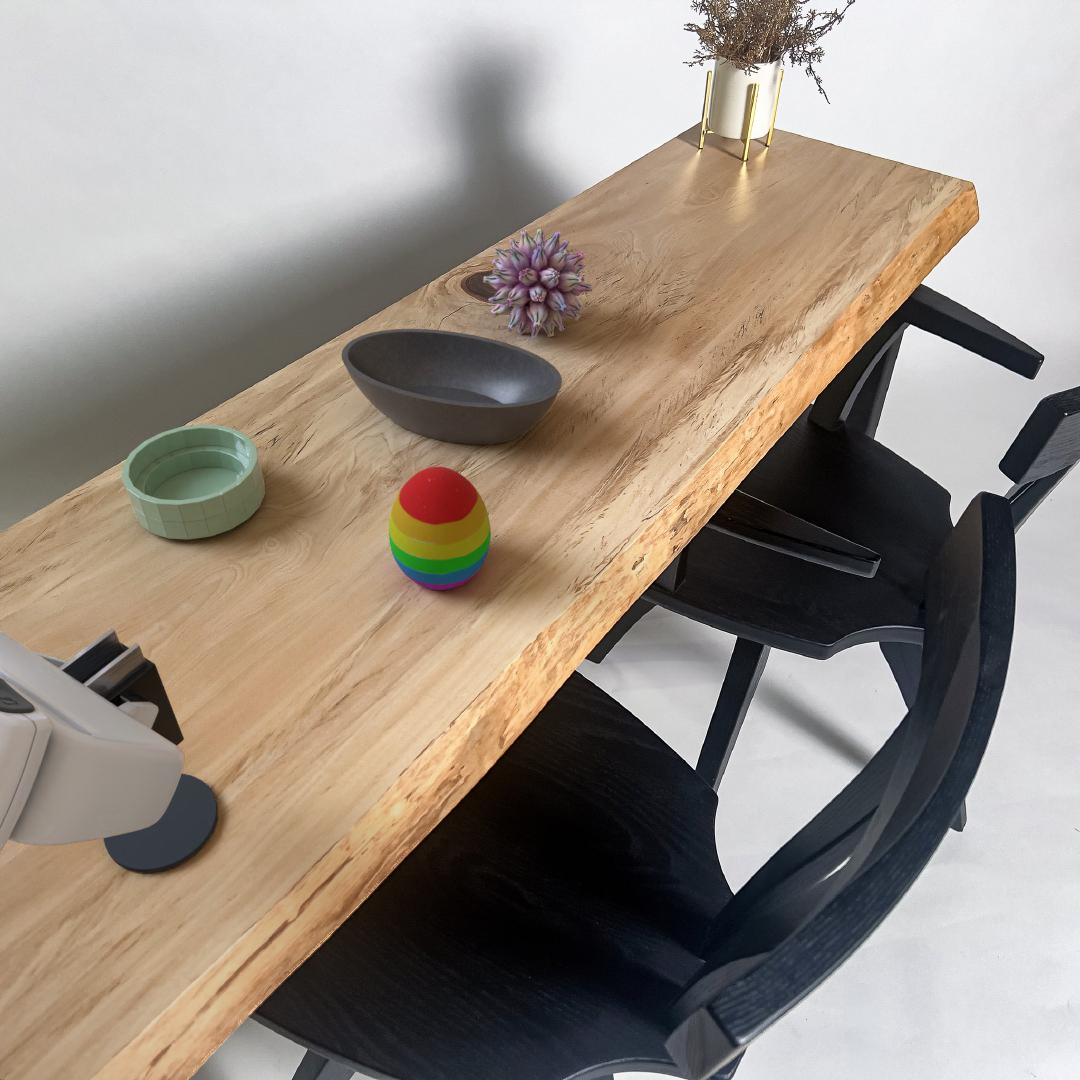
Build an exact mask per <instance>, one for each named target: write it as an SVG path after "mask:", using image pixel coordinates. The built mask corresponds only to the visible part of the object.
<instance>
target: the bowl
mask: <svg viewBox="0 0 1080 1080" xmlns="http://www.w3.org/2000/svg"><path fill="white" fill-rule="evenodd" d="M341 360H342V363H343V365H344V367H345V369H346V371H347V373H348V374H349V376H350V378H351V380H352V381H353V383H354V384H355V386H356V387H357V388H358V389H359V390H360V392H361V394H363V396H364V397H365V398H366V400H368V402H369V403H371V404H372V406H373V407H375V408H376V409H377V410H378V411H379V412H380V413H381V414H383V415H384V416H385V417H387V418H388V419H389V420H390V421H392V422H393V423H394V424H396V425H397V426H398V427H401V428H403V429H405V430H407V431H409V432H411V433H414V434H417V435H420V436H422V437H425V438H430V439H434V440H438V441H443V442H446V443H447V442H448V443H455V444H462V445H472V446H473V445H476V446H486V445H497V444H498V445H499V444H503V443H508V442H511V441H513V440H515V439H517V438H519V437H520V436H522V435H524V434H525V433H526V432H528V431H530V430H531V429H532V428H533V427H535V425H537V424H538V423H539V422H540V421H541V420H542V419H543V418H544V416H545V415H546V414H547V413H548V412H549V410H550V408H552V406H553V404H554V403H555V401H556V399H557V397H558V395H559V392H560V390H561V388H562V385H563V378H562V374H561V373H560V371H559V370H558V369H557V367H556V366H554V365H553V364H552V363H551V362H549V361H548V360H547V359H545V358H543V357H542V356H540V355H538V354H536V353H534V352H532V351H530V350H527V349H524V348H522V347H519V346H516V345H513V344H510V343H508V342H503V341H500V340H496V339H492V338H489V337H485V336H484V337H483V336H480V335H475V334H469V333H463V332H457V331H450V330H442V329H441V330H440V329H430V328H429V329H427V328H395V329H384V330H379V331H373V332H369V333H366V334H362V335H360V336H358V337H355V338H354V339H352V340H350V341H349V342H348V343H347V344H346V345H345V346H344V347H343V349H342V351H341Z"/></svg>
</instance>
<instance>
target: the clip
mask: <svg viewBox="0 0 1080 1080" xmlns="http://www.w3.org/2000/svg"><path fill="white" fill-rule="evenodd" d="M66 661H67V662H66V663H64V664H63V665H62V666H60V667H59V669H60V670H62V671H64V672H65V673H67V674H68V675H70V676H71V677H73V678H74V679H76V680H77V681H79V682H80V683H82V684H83V685H85V686H86V687H88V688H89V689H91V690H92V691H94V692H95V693H97V694H99V695H100V696H102V697H103V698H105V699H106V700H108V701H109V702H111V703H112V704H114V705H116V702H117V700H118V698H119V695H132V696H133V695H140V696H142V697H143V698H145V699H147V700H148V701H150V702H151V703H153V704H154V705H156V706H158V709H159V710H158V714H157V716H156V718H155V721H154V723H153V726H152V728H151V729H152V730H153V731H155V732H156V733H158V734H159V735H161V736H162V737H164V738H165V739H167V740H169V741H170V742H172V743H173V744H175V745H177V746H179V745H180V744H181V743H182V742H183V741H184V740H185V737H184V735H183V732H182V730H181V728H180V724H179V721H178V720H177V716H176V715H175V712H174V709H173V706H172V704H171V701H170V699H169V696H168V693H167V691H166V689H165V685H164V683H163V680H162V678H161V676H160V673H159V670H158V668H157V665H156V663H155V662H153V661H152V660H150V659H148V658H147V657H145V656H144V652H143V651H142V648H141V646H140V644H138V643H137V642H136V643H134V644H132V645H131V646H129V647H128V646H127V645H126V644H124V643H122V642H121V641H120V639H119V636H118V634H117V632H116V629H114V628H109V629H108V630H107V631H106V632H104V633H103V634H102V635H100V636H99V637H98V638H96V639H95V640H94V641H92V642H91V643H89V645H87V646H86V647H85V648H83V649H82V650H80V651H79V652H77V653H76V654H75V655H74V656H73V657H70V659H68V660H66Z"/></svg>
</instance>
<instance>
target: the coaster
mask: <svg viewBox="0 0 1080 1080" xmlns="http://www.w3.org/2000/svg"><path fill="white" fill-rule="evenodd" d="M218 818H219V806H218V801H217V798H216V796H215V794H214V792H213V790H212V789H211V787H210V786H209V785H208V784H207V783H206V782H205V781H203V780H202V779H200V778H198V777H197V776H193V775H191V774H187V773H182V774H181V777H180V780H179V782H178V785H177V788H176V790H175V793H174V795H173V797H172V799H171V801H170V803H169V806H168V807H167V809H166V811H165V813H164V814H163V816H162V817H161V818H160V819H159V820H158V821H157V822H156V823H155V824H153V825H151V826H149V827H147V828H144V829H141V830H137V831H133V832H129V833H125V834H121V835H116V836H111V837H107V838H103V844H104V847H105V849H106V851H107V853H108V855H109V857H110V858H111V859H112V860H113V862H114V863H116V864H117V865H118V866H120V867H121V868H123V869H125V870H127V871H130V872H134V873H139V874H153V873H154V874H155V873H161V872H165V871H169V870H171V869H174V868H176V867H178V866H181V865H182V864H185V863H186V862H188V861H189V860H190V859H192V858H193V857H194V856H196V855H197V854H198V853H199V852H200V851H201V850H202V849H203V848H204V847H205V846H206V845H207V844H208V842H209V840H210V839H211V838H212V835H213V833H214V832H215V830H216V827H217V823H218Z"/></svg>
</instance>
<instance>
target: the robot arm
mask: <svg viewBox="0 0 1080 1080" xmlns="http://www.w3.org/2000/svg"><path fill="white" fill-rule="evenodd" d="M67 661H68V660H66V659H64V658H60V657H58V656H57V657H56V656H53V655H51V654H50V655H49V654H47V653H44V652H39V651H36V650H34V649H33V650H32V649H30V648H28V647H27V646H26V645H24V644H23V643H21V642H19V641H18V640H16V638H13V637H12V636H10V635H9V634H7V633H6V632H4V631H3V630H1V629H0V854H2V851H3V850H4V848H5V846H6V845H7V842H8V841H11V842H14V843H18V844H23V845H28V846H39V847H40V846H41V847H50V846H51V847H52V846H53V847H54V846H64V845H65V846H66V845H71V844H77V843H78V844H79V843H85V842H90V841H95V840H101V839H104V838H107V837H111V836H116V835H121V834H125V833H129V832H133V831H137V830H141V829H144V828H147V827H149V826H151V825H153V824H155V823H156V822H157V821H158V820H159V819H160V818H161V817H162V816H163V814H164V813H165V811H166V809H167V807H168V806H169V803H170V801H171V799H172V797H173V795H174V793H175V790H176V788H177V785H178V782H179V780H180V777H181V774H183V770H184V766H185V762H186V754H185V752H184V751H183V749H182V748H181V747H180V746H179V745H175V744H173V743H172V742H170V741H169V740H167V739H165V738H164V737H162V736H161V735H159V734H158V733H156V732H155V731H153V730H152V729H151V728H152V726H153V723H154V721H155V718H156V716H157V714H158V710H159V709H158V706H156V705H154V704H153V703H151V702H150V701H148V700H147V699H145V698H143V697H142V696H140V695H133V696H132V695H119V698H118V700H117V702H116V705H114V704H112V703H111V702H109V701H108V700H106V699H105V698H103V697H102V696H100V695H99V694H97V693H95V692H94V691H92V690H91V689H89V688H88V687H86V686H85V685H83V684H82V683H80V682H79V681H77V680H76V679H74V678H73V677H71V676H70V675H68V674H67V673H65V672H64V671H62V670H60V669H59V667H60V666H62V665H63V664H64V663H66V662H67Z"/></svg>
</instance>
